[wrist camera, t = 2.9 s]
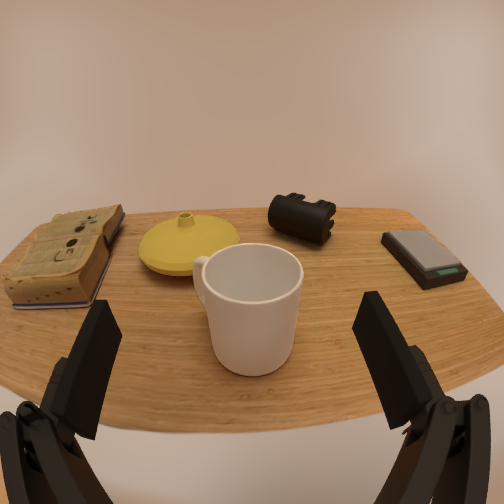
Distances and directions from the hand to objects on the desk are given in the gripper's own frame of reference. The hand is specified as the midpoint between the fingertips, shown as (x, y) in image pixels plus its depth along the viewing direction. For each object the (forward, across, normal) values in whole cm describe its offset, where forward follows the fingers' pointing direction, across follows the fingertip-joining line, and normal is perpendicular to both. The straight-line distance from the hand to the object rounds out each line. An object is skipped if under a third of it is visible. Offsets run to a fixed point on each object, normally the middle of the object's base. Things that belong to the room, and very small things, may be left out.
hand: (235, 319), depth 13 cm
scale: (+22, +32, -13) cm, 41 cm away
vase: (+26, -7, -14) cm, 30 cm away
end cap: (+32, +12, -13) cm, 36 cm away
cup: (+10, 0, -14) cm, 17 cm away
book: (+26, -29, -14) cm, 41 cm away
